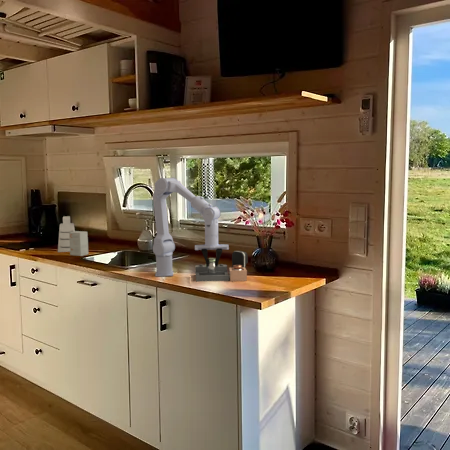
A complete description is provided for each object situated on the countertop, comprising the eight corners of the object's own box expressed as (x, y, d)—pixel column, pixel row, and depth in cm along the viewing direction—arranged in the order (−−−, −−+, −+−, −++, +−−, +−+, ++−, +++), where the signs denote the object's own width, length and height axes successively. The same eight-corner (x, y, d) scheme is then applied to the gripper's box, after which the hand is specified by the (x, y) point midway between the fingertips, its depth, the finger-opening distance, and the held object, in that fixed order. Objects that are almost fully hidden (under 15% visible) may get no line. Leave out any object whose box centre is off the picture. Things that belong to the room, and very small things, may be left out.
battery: (249, 276, 219) (249, 251, 218) (243, 278, 216) (243, 252, 215) (237, 274, 224) (237, 249, 222) (231, 275, 221) (231, 250, 220)
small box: (88, 254, 278) (87, 231, 276) (80, 256, 272) (79, 232, 271) (77, 253, 281) (76, 230, 280) (69, 255, 276) (68, 232, 274)
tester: (195, 276, 221) (195, 263, 220) (226, 275, 222) (226, 263, 221) (196, 282, 208) (195, 269, 207) (229, 282, 209) (228, 269, 208)
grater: (57, 252, 285) (56, 217, 283) (59, 249, 296) (57, 216, 293) (76, 251, 288) (75, 217, 286) (77, 248, 298) (76, 215, 296)
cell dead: (233, 278, 213) (233, 264, 213) (241, 278, 214) (241, 264, 213) (233, 280, 210) (233, 266, 209) (242, 280, 210) (242, 266, 209)
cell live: (207, 271, 214) (207, 258, 214) (216, 271, 215) (216, 257, 214) (207, 273, 211) (207, 259, 210) (216, 273, 211) (216, 259, 210)
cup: (228, 278, 215) (228, 267, 214) (244, 278, 216) (244, 267, 215) (230, 282, 208) (230, 271, 208) (246, 282, 209) (246, 270, 208)
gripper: (194, 236, 206) (195, 268, 208) (229, 235, 207) (229, 267, 209) (194, 234, 213) (195, 265, 215) (227, 233, 214) (228, 264, 216)
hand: (211, 266), depth 212 cm, fingers closed on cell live, 4 cm apart
